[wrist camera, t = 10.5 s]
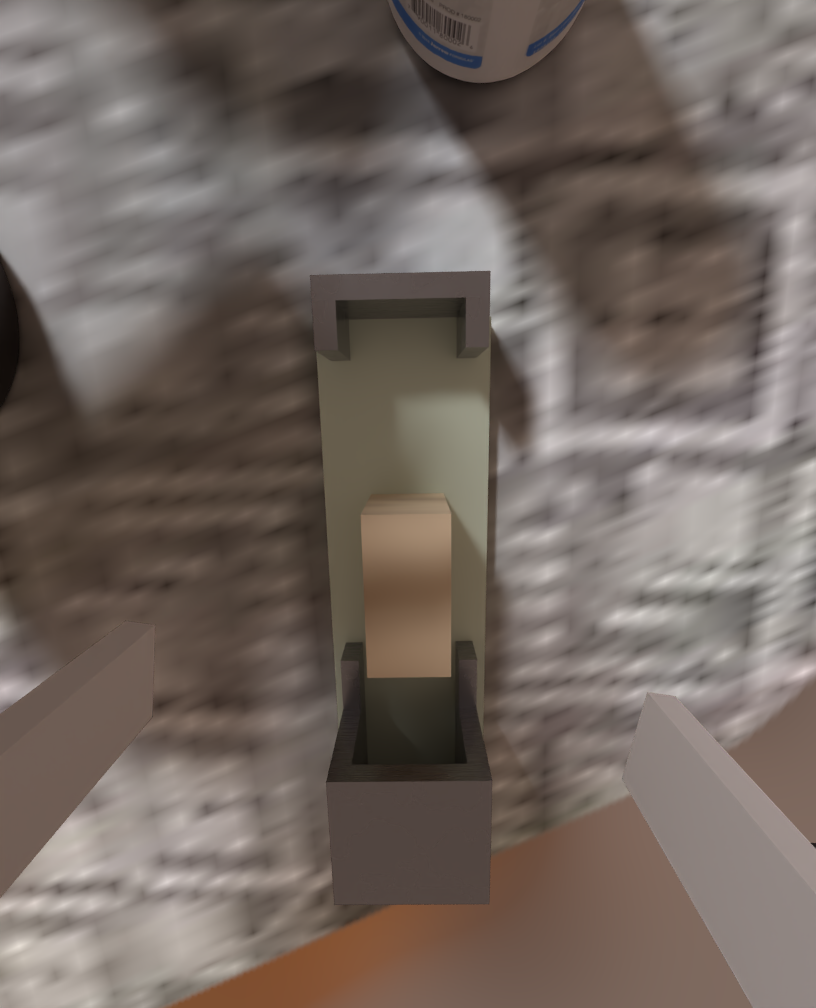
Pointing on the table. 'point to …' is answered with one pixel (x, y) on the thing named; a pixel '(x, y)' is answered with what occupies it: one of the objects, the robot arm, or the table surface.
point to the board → (407, 470)
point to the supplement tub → (484, 34)
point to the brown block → (407, 585)
